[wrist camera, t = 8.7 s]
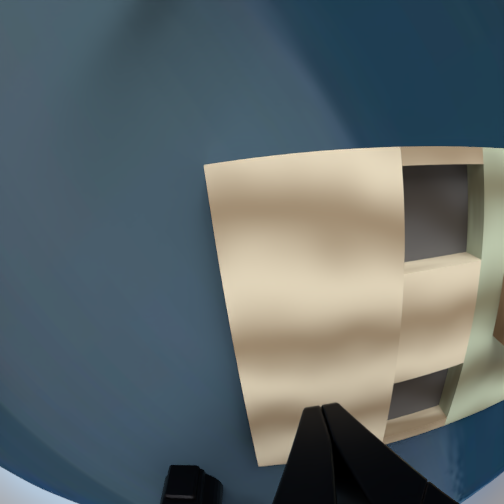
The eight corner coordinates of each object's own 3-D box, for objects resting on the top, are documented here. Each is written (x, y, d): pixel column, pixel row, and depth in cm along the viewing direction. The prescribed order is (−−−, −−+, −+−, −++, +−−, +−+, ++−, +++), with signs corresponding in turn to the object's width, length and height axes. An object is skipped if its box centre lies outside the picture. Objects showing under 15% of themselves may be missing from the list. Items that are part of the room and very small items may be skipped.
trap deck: (511, 379, 23) (521, 390, 21) (257, 448, 23) (258, 466, 21) (546, 152, 16) (562, 153, 14) (208, 164, 17) (203, 165, 15)
